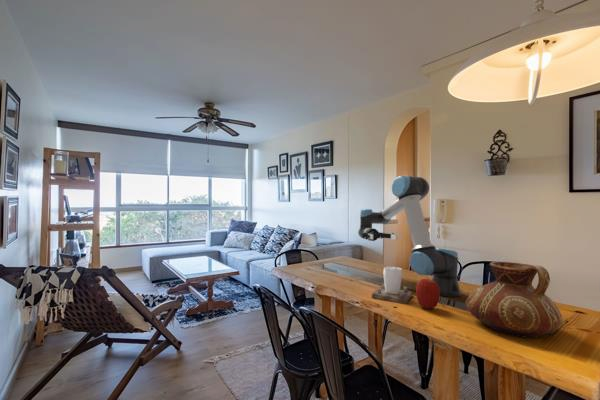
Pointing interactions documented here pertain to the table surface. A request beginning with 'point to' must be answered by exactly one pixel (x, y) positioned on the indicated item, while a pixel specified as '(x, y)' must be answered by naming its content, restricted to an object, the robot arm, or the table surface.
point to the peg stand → (392, 295)
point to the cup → (392, 279)
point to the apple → (427, 293)
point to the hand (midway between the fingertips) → (384, 237)
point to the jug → (516, 301)
